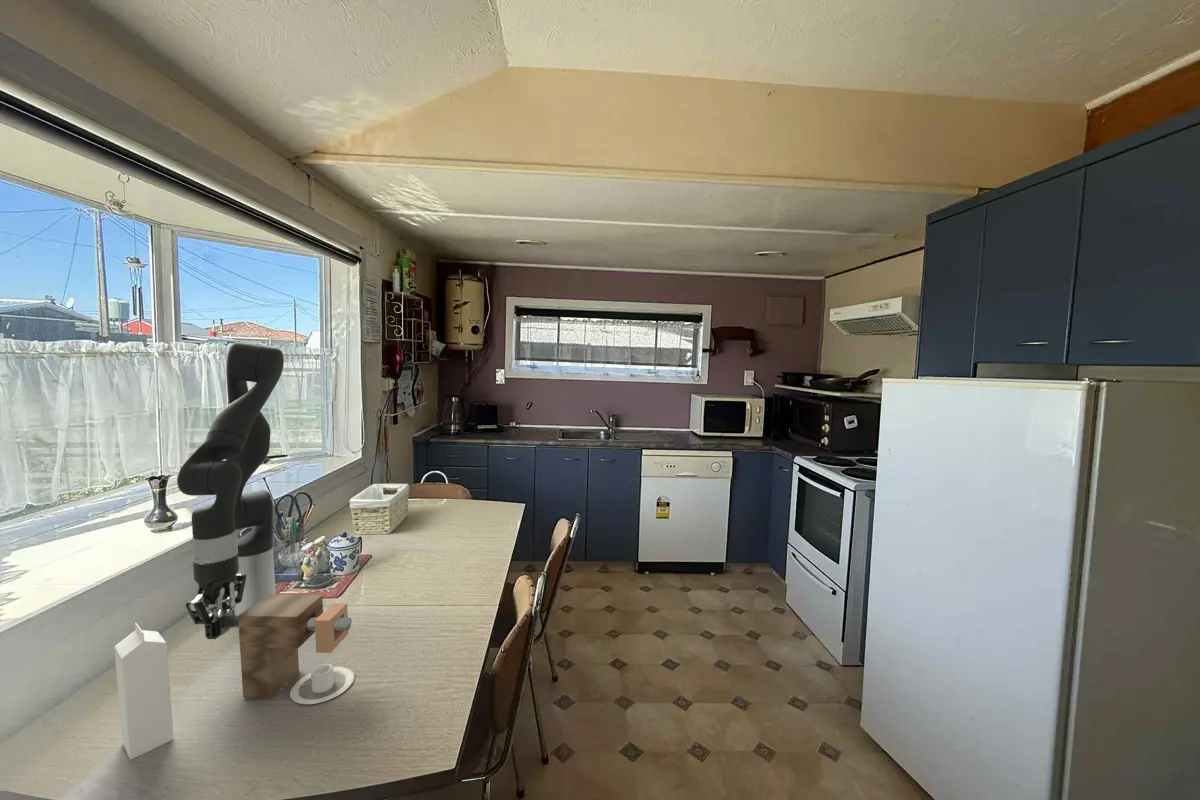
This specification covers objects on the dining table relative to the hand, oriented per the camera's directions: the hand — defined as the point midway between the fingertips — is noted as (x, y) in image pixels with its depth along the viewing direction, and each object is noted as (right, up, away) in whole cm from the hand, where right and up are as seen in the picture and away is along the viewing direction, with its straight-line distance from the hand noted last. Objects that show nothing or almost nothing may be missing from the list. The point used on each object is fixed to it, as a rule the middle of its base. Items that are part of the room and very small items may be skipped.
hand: (220, 632), depth 105 cm
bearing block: (+13, -12, +1) cm, 18 cm away
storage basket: (-9, -3, +99) cm, 100 cm away
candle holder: (+21, -12, +1) cm, 25 cm away
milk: (-2, -13, -15) cm, 20 cm away
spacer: (+24, -2, 0) cm, 24 cm away
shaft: (+13, 0, 0) cm, 13 cm away
